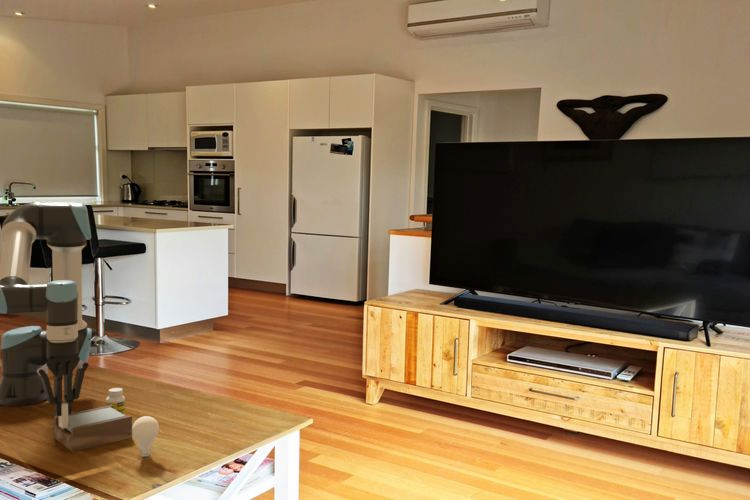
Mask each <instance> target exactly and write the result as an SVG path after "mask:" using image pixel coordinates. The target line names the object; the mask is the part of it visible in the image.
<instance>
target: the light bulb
mask: <svg viewBox="0 0 750 500" xmlns="http://www.w3.org/2000/svg"><path fill="white" fill-rule="evenodd" d="M159 429H160V425H159V422H158V421H157V420H156V418H154V417H152V416H150V415H144V416H141V417H139V418H137V419H136V420H135V421H134V422H133V423H132V437H133V438H134V440H135V441H136V443H137V446H138V449H139V457H141V458H143V459H148V458H149V457H151V456H152V448H153V445H154V441H155V439H156V438H157V436H158V434H159Z"/></svg>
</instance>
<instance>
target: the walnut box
mask: <svg viewBox="0 0 750 500" xmlns="http://www.w3.org/2000/svg"><path fill="white" fill-rule="evenodd" d="M109 407H111V408H113V406H112V405H109V406H106V405H105V406H101V407H96V408H92V409H91V408H90V409H86V410H80V411H75V412H71V414H68V416H70V415H75V414H80V413H85V412H89V411H94V410H99V409H104V408H109ZM53 423H54V424H53V428H54V429H53V438H54V440H55V441H58V443H60V444H62V446H64V447H65V448H67V449H68V450H69V451H71V452H72V453H75V452H79V451H84V450H87V449H92V448H96V447H100V446H103V445H108V444H112V443H116V442H119V441H124V440H128V439H132V438H133V434H132V427H133V416H132V415H131V414H129V415H125V417H120V418H116V419H111V420H107V421H102V422H97V423H93V424H88V425H84V426H79V427H75V428H71V432H70V431H69V430H67V429H66V428H64V429H62V428H61V427H59V416H56V415H55V416H54V417H53Z"/></svg>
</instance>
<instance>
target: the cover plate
mask: <svg viewBox="0 0 750 500" xmlns="http://www.w3.org/2000/svg"><path fill="white" fill-rule="evenodd" d="M125 416H126V414H125V415H124V414H122V413H120V412H118V411H117V410H115V409H113V408H111V407H109V408H104V409H99V410H94V411H89V412H85V413H80V414H75V415H70V416H68V428H66V429H67V430H69V431H70V432H71V428H75V427H79V426H84V425H88V424H93V423H97V422H102V421H107V420H111V419H116V418H120V417H125Z"/></svg>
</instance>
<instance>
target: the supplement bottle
mask: <svg viewBox="0 0 750 500" xmlns="http://www.w3.org/2000/svg"><path fill="white" fill-rule="evenodd" d="M123 391H124V390H123V388H122V387H113V388H110V389H108V396H107V397H106V398H105V406H109V405H112V406H113V409H115V410H117V411H118V412H120V413H122V414H124V415H125V416H126V398H125V396H124V395H123V394H124V393H123Z"/></svg>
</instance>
